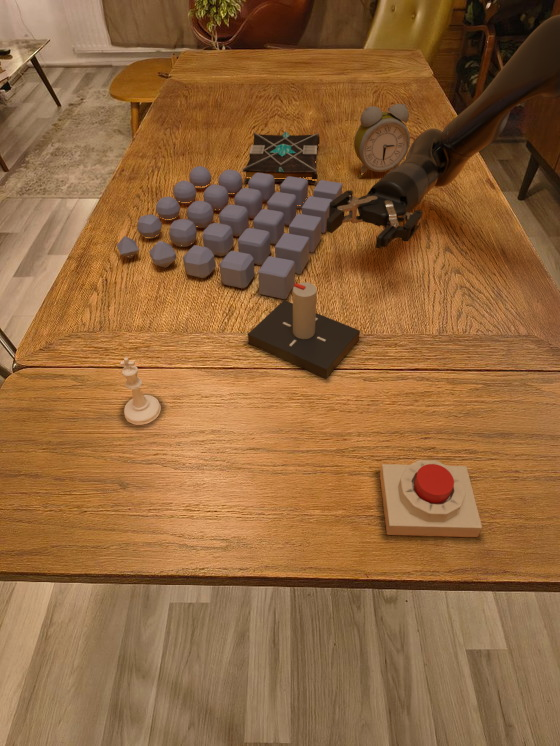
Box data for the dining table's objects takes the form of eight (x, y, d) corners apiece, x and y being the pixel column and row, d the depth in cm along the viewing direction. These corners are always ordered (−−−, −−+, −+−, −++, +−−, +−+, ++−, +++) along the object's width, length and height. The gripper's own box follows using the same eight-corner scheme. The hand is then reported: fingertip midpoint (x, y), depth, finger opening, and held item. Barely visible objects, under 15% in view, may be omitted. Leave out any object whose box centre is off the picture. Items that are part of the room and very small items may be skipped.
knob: (319, 329, 79) (321, 285, 73) (307, 342, 77) (308, 297, 71) (300, 321, 80) (301, 277, 74) (288, 334, 78) (288, 289, 72)
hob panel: (358, 340, 80) (360, 329, 78) (326, 379, 74) (326, 368, 73) (284, 309, 86) (284, 299, 84) (248, 343, 80) (247, 333, 78)
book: (317, 186, 116) (317, 164, 113) (243, 184, 117) (241, 163, 114) (319, 147, 131) (320, 126, 128) (253, 146, 132) (252, 125, 129)
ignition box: (462, 475, 63) (470, 456, 60) (477, 537, 57) (487, 519, 54) (379, 474, 63) (383, 455, 60) (386, 535, 57) (391, 517, 55)
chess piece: (129, 397, 72) (111, 345, 65) (164, 397, 72) (149, 345, 65) (120, 424, 69) (100, 372, 62) (157, 425, 69) (141, 373, 62)
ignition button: (446, 472, 59) (450, 464, 57) (453, 504, 56) (457, 495, 55) (411, 472, 59) (414, 463, 58) (416, 503, 56) (419, 494, 55)
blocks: (285, 300, 87) (285, 276, 84) (112, 263, 96) (105, 240, 92) (341, 205, 110) (342, 182, 106) (196, 182, 119) (193, 161, 115)
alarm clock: (357, 182, 117) (363, 112, 107) (348, 169, 122) (353, 101, 111) (405, 176, 119) (416, 107, 108) (395, 164, 124) (404, 96, 113)
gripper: (363, 161, 88) (314, 200, 79) (443, 182, 82) (399, 226, 73) (359, 202, 94) (312, 243, 84) (433, 224, 88) (392, 270, 79)
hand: (353, 235), depth 79 cm, fingers open, 8 cm apart
